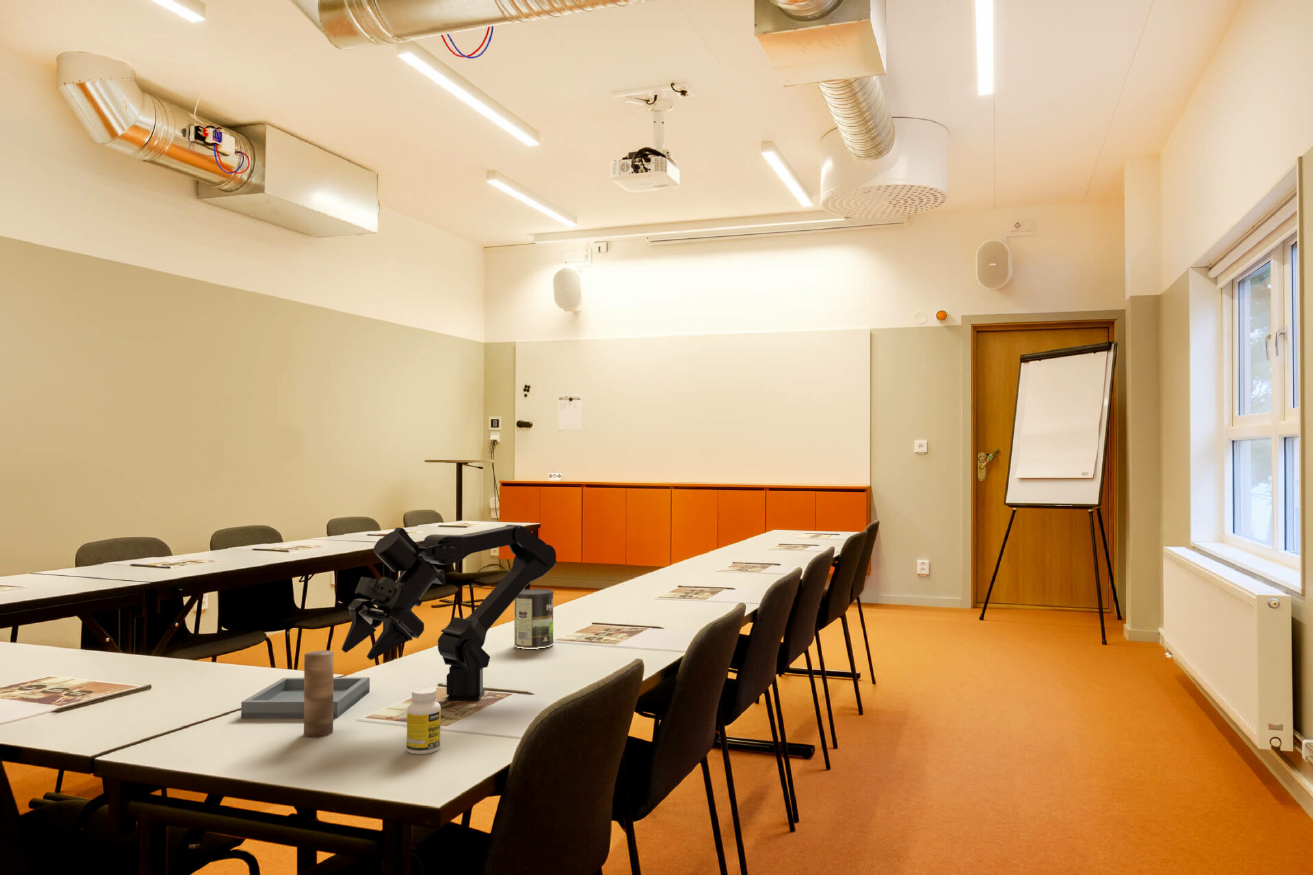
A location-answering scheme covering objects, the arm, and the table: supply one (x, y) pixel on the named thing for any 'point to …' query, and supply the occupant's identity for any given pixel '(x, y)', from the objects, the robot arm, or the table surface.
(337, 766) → the table surface
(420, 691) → the supplement bottle
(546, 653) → the table surface
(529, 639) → the coffee can
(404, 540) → the robot arm
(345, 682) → the bin
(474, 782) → the table surface
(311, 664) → the canister
